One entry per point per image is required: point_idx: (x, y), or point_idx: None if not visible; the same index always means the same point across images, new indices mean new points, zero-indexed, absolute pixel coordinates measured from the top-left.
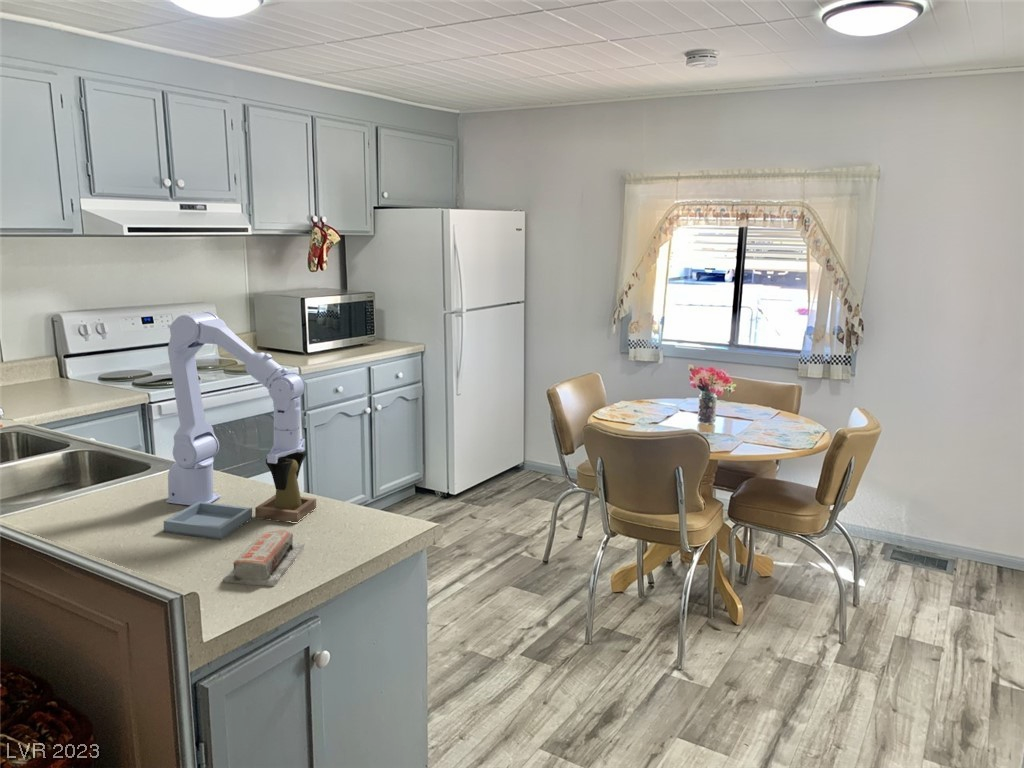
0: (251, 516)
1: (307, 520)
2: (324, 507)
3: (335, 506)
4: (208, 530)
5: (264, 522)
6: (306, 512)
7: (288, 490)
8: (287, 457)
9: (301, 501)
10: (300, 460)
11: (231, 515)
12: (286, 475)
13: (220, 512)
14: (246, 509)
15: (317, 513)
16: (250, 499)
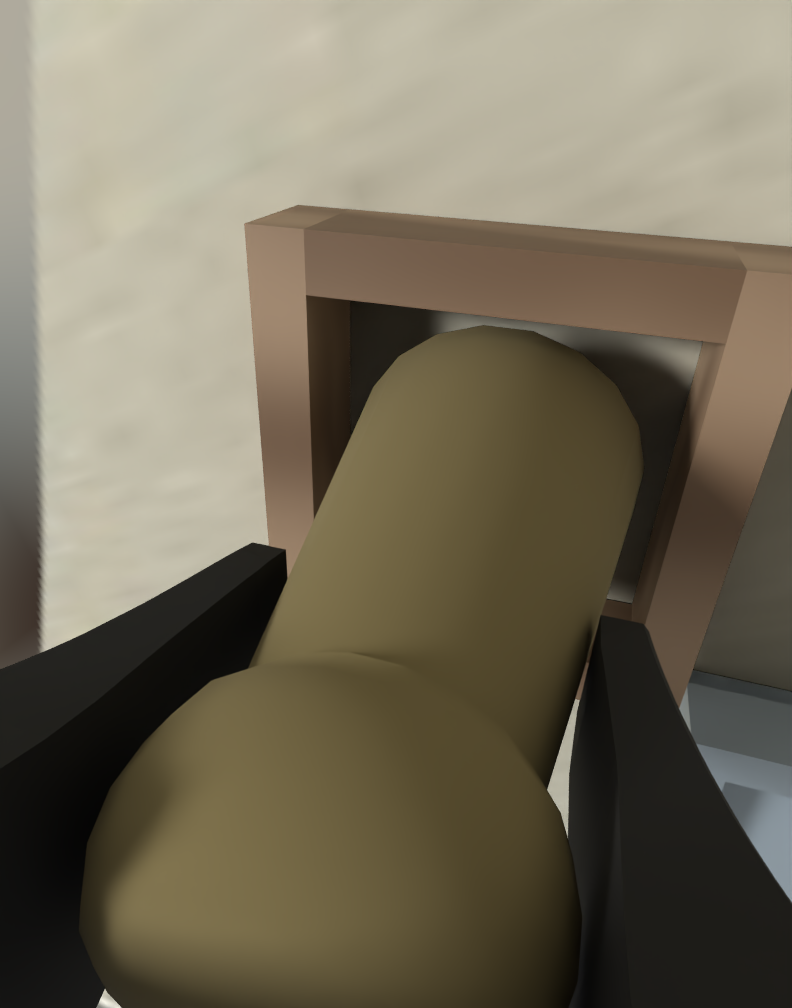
0: (699, 688)
1: (665, 164)
2: (222, 131)
3: (146, 9)
4: None
5: (771, 567)
6: (537, 233)
7: (587, 565)
8: (56, 991)
9: (321, 378)
10: (5, 773)
11: None
12: (705, 818)
13: None
14: (738, 776)
15: (413, 135)
16: None
